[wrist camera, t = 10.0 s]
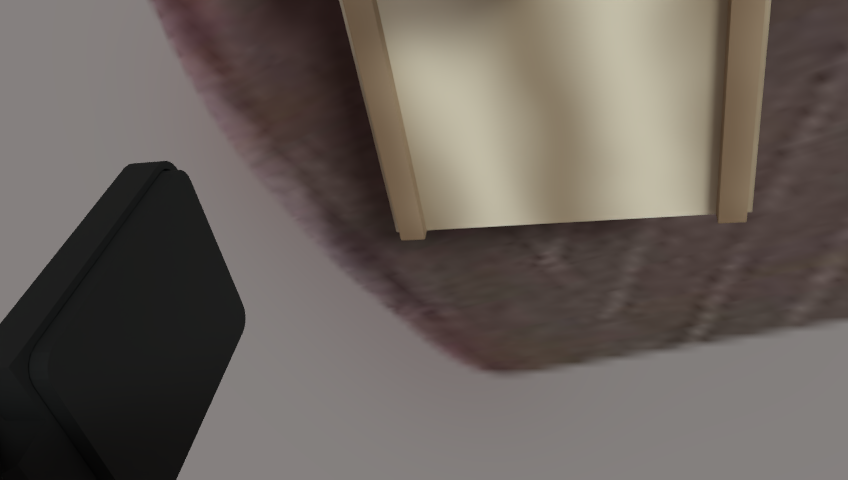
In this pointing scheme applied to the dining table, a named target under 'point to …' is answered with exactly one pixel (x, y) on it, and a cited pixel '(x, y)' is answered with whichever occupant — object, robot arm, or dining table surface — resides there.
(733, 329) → the dining table surface
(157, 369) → the robot arm
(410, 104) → the beam
